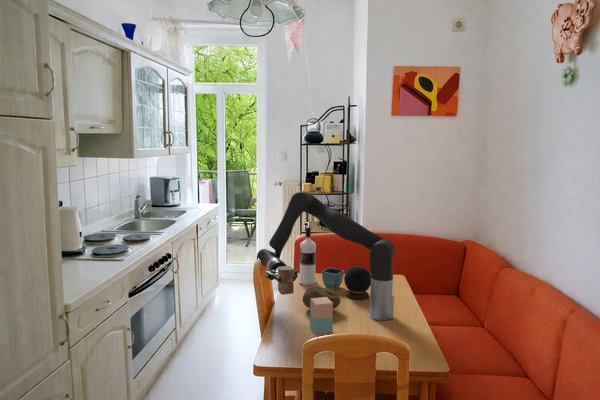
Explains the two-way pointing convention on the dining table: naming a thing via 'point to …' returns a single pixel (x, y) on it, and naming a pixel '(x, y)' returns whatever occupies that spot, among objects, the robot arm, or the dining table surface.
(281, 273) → the pillar
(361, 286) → the black ball on stand
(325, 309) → the tower top
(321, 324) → the tower base
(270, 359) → the dining table surface
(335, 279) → the flower pot
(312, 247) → the vodka
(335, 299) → the decorative stone
